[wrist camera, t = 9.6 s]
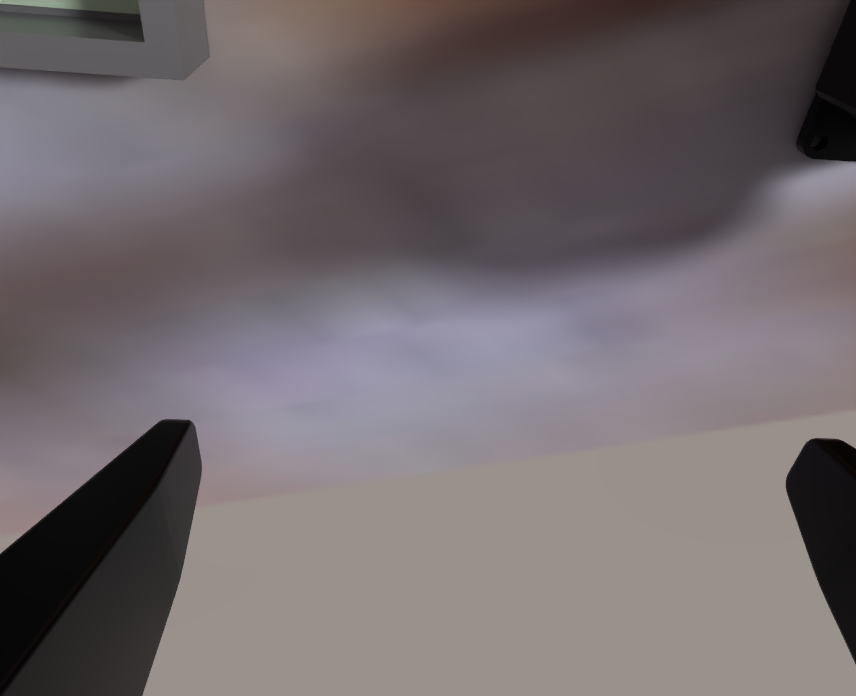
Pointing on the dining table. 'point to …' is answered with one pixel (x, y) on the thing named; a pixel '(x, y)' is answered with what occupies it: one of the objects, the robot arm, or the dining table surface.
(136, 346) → the dining table surface
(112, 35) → the socket strip
